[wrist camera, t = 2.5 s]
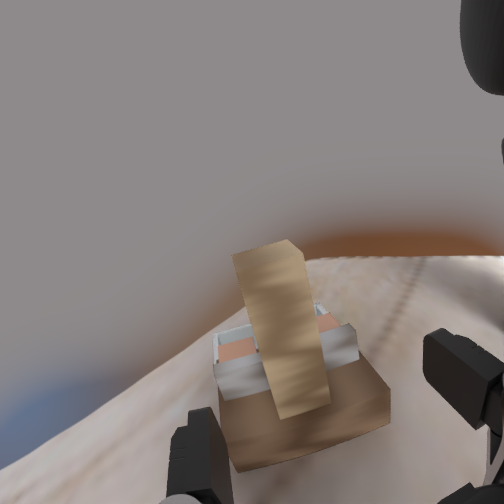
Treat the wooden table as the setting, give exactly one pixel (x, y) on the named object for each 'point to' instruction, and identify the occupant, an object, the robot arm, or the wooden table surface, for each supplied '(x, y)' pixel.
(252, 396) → the board
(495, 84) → the robot arm
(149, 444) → the wooden table surface
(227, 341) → the tray
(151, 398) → the wooden table surface
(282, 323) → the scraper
